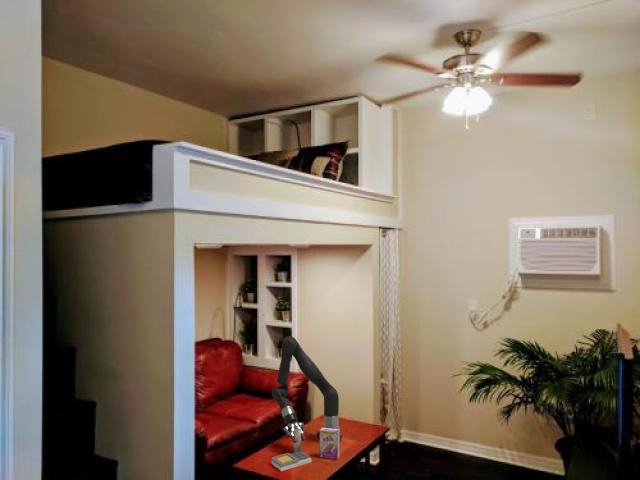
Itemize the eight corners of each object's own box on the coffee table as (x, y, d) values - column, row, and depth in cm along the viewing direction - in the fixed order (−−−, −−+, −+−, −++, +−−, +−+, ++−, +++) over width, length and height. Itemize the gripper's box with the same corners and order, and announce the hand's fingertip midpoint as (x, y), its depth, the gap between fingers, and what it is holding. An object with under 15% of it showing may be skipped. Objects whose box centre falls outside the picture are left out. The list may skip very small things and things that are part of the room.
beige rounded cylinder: (299, 450, 300) (298, 427, 300) (304, 453, 295) (303, 429, 295) (291, 452, 297) (291, 429, 297) (296, 455, 292) (295, 432, 292)
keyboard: (301, 455, 292) (301, 449, 292) (311, 461, 283) (311, 455, 283) (271, 463, 281) (271, 457, 281) (281, 471, 272) (281, 464, 272)
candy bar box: (319, 458, 288) (318, 430, 288) (321, 454, 293) (321, 427, 293) (337, 460, 285) (337, 431, 285) (339, 456, 290) (339, 428, 290)
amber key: (287, 457, 285) (287, 455, 285) (293, 461, 279) (293, 459, 279) (276, 460, 281) (276, 458, 281) (282, 465, 275) (282, 462, 275)
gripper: (281, 414, 298) (291, 441, 288) (301, 410, 306) (311, 435, 296) (276, 421, 302) (286, 447, 292) (296, 416, 310) (307, 441, 300)
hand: (299, 441), depth 294 cm, fingers open, 5 cm apart
